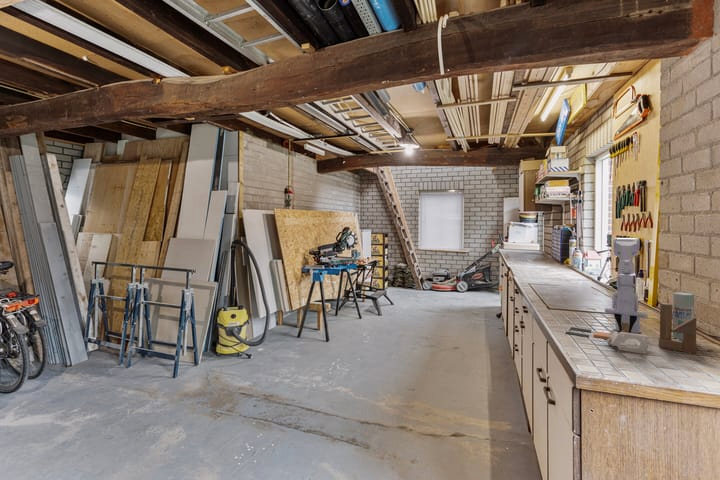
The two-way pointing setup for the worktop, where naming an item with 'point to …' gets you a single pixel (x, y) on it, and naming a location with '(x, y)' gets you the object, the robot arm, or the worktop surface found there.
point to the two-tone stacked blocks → (625, 327)
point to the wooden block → (685, 328)
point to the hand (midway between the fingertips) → (625, 332)
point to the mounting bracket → (629, 342)
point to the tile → (602, 335)
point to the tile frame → (576, 332)
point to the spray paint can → (682, 310)
